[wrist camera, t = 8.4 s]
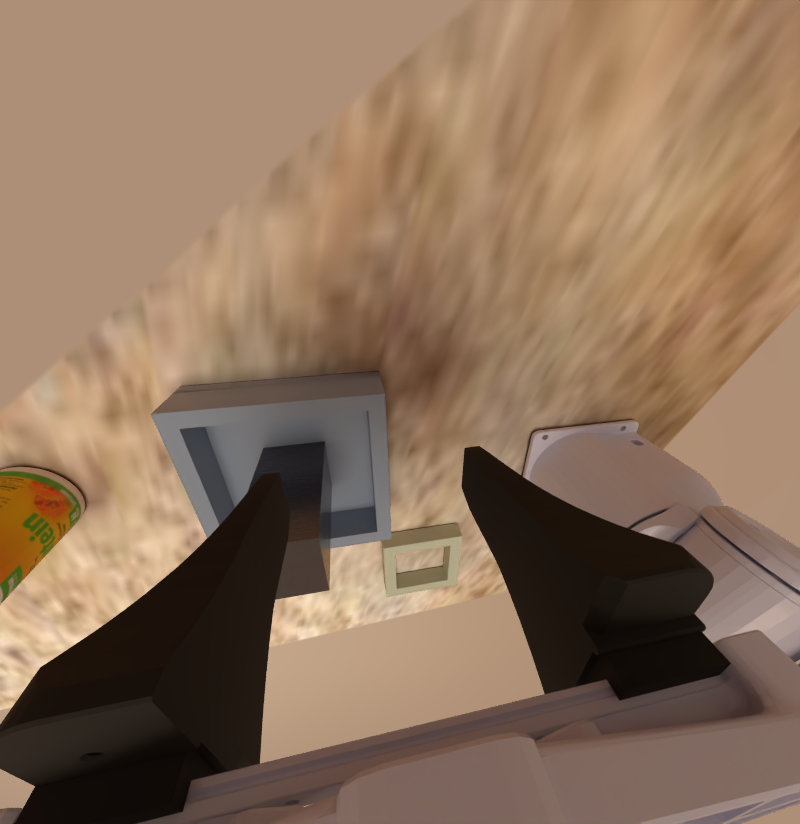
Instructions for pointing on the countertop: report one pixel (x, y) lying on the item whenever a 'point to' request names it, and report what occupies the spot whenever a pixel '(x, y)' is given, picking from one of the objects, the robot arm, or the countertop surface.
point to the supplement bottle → (32, 520)
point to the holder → (418, 541)
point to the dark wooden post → (303, 514)
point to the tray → (283, 444)
